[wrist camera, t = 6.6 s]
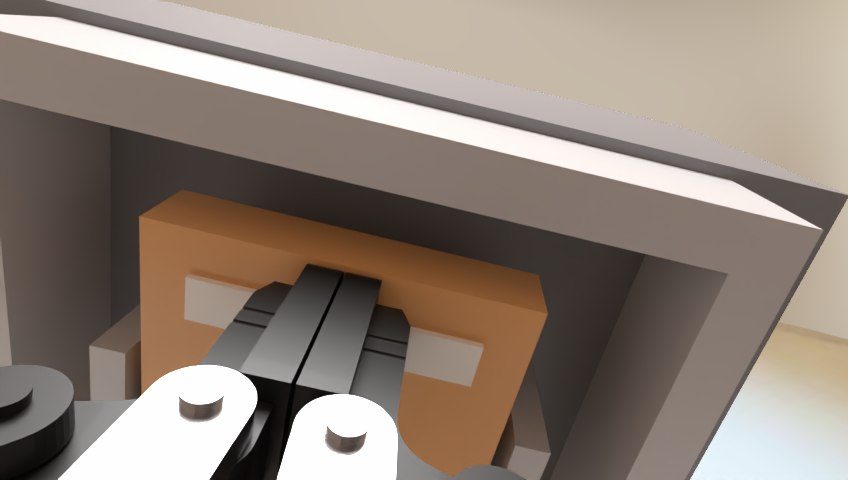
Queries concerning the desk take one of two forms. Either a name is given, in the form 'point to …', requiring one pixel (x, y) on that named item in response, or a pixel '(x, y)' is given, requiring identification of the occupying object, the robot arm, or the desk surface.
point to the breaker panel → (397, 213)
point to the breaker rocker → (401, 288)
